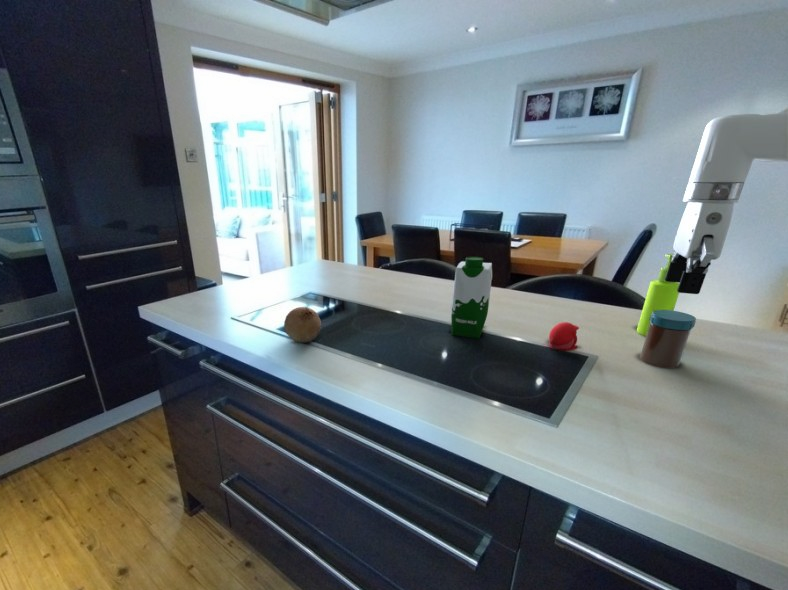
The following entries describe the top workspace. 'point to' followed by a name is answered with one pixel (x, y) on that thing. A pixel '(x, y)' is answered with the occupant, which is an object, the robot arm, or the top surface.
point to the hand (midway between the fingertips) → (680, 286)
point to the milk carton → (471, 297)
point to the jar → (664, 346)
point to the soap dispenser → (658, 298)
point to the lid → (672, 319)
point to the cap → (563, 337)
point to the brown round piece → (302, 324)
